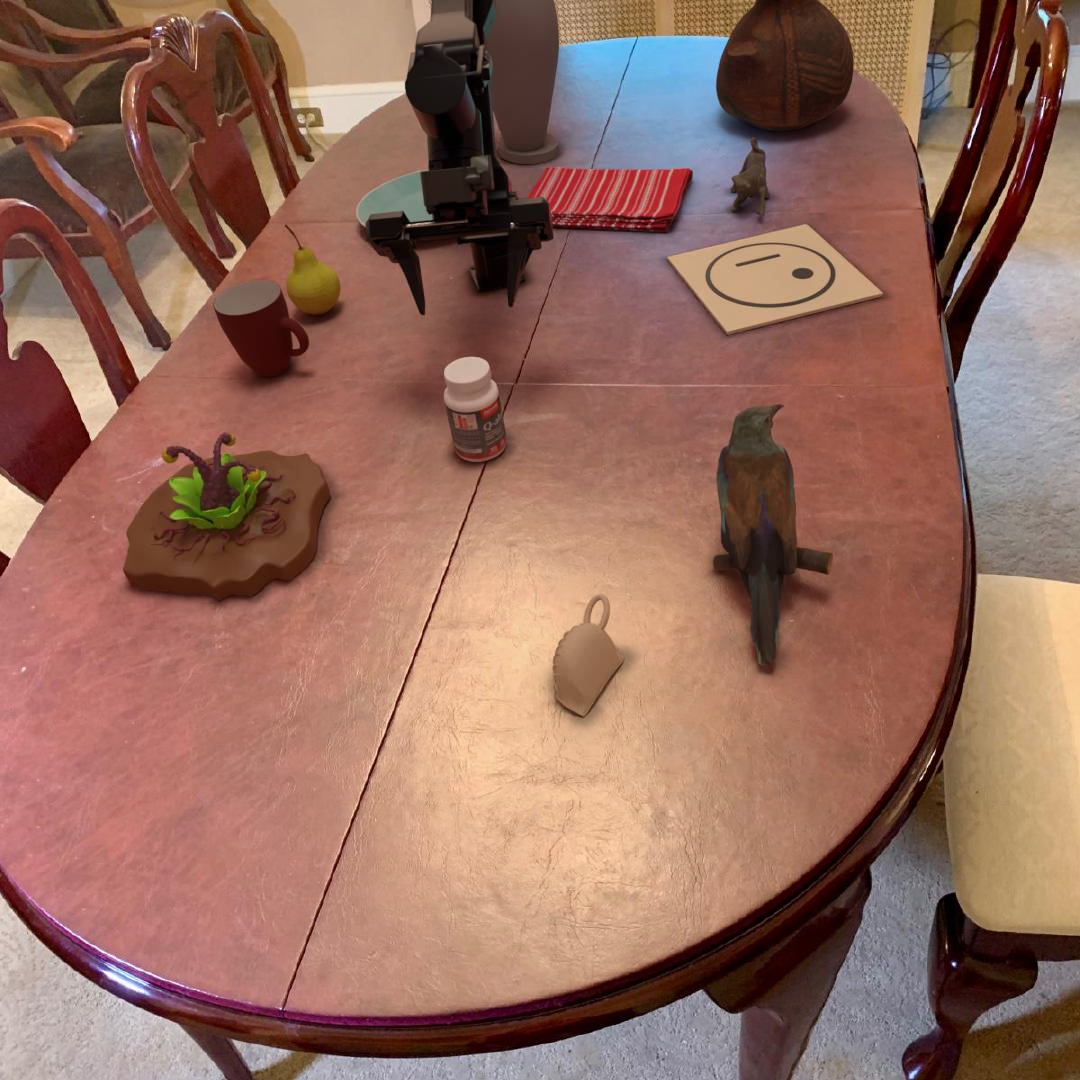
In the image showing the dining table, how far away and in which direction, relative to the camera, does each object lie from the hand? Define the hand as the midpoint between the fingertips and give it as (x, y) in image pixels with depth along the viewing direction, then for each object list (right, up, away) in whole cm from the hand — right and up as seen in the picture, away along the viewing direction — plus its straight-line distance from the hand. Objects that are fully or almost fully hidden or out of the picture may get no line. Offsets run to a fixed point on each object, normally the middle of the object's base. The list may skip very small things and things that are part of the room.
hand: (466, 310), depth 97 cm
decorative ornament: (+12, -35, -19) cm, 41 cm away
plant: (-24, -23, -1) cm, 33 cm away
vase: (+5, +40, +59) cm, 72 cm away
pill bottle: (+1, -14, +4) cm, 15 cm away
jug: (+47, +46, +58) cm, 87 cm away
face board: (+37, +10, +22) cm, 44 cm away
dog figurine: (+37, +24, +37) cm, 58 cm away
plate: (-9, +25, +46) cm, 53 cm away
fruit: (-22, +7, +29) cm, 37 cm away
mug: (-24, -3, +20) cm, 32 cm away
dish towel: (+17, +26, +43) cm, 53 cm away
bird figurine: (+28, -27, -13) cm, 41 cm away
